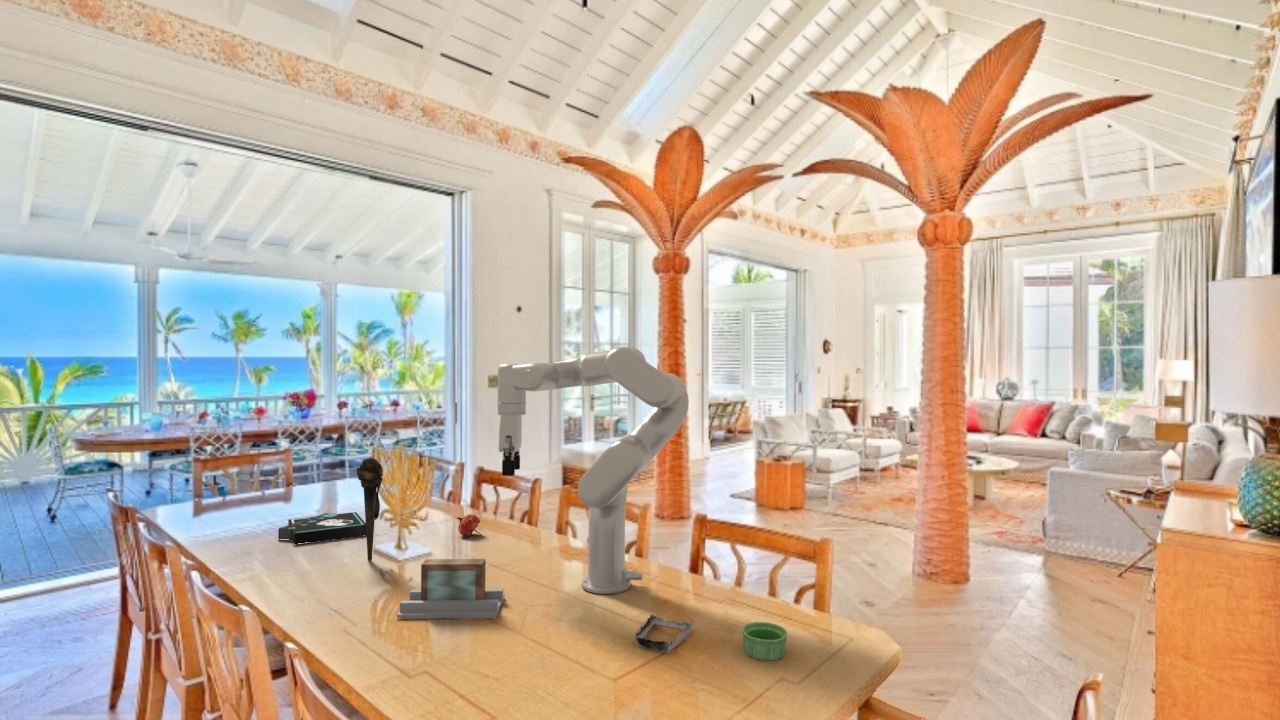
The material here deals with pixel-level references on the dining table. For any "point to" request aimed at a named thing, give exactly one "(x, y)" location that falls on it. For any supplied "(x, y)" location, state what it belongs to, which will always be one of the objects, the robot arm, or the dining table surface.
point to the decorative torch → (370, 496)
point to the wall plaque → (323, 528)
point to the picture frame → (453, 579)
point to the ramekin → (764, 641)
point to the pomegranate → (468, 525)
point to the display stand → (451, 606)
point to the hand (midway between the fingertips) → (511, 472)
